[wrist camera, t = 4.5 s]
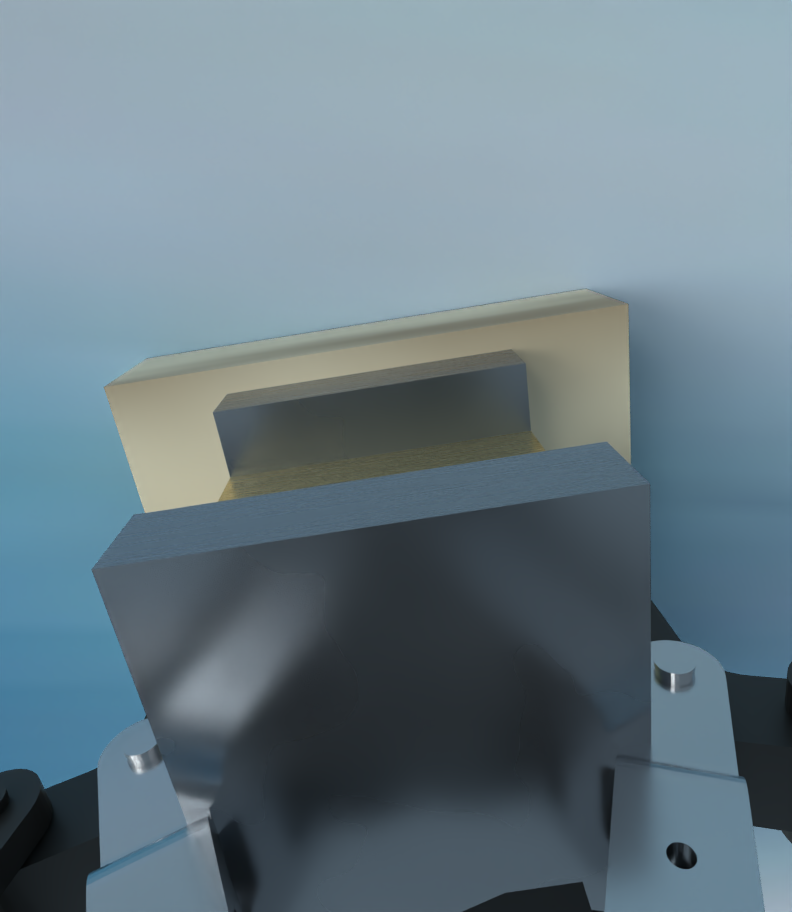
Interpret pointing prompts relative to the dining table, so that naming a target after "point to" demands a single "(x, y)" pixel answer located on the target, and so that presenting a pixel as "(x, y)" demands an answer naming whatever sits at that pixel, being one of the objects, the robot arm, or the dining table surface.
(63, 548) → the dining table surface
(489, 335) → the stand
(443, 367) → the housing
